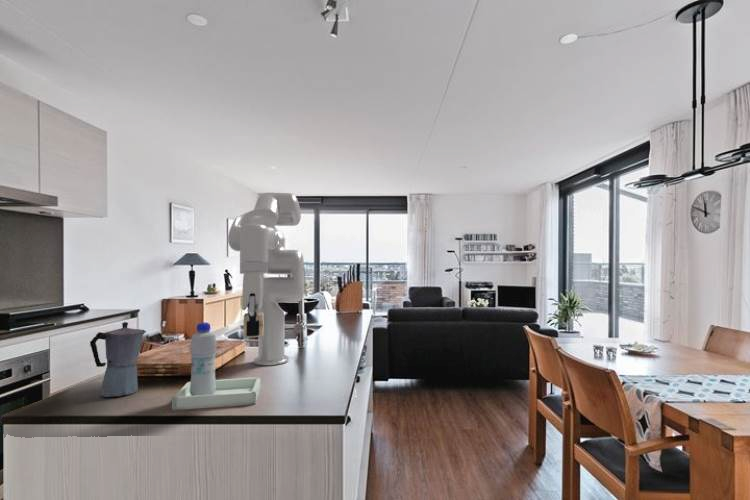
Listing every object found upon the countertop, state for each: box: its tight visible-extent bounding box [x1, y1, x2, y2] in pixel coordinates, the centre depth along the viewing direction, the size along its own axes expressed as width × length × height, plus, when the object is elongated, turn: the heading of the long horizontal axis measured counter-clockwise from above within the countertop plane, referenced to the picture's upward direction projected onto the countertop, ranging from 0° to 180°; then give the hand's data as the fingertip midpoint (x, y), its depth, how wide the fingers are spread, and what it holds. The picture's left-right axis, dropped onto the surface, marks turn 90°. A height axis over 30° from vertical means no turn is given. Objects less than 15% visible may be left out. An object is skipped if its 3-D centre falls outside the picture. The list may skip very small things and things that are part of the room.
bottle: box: [189, 322, 218, 396], centre depth 104 cm, size 7×7×20 cm
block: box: [242, 312, 264, 339], centre depth 106 cm, size 5×5×6 cm
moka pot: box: [89, 321, 147, 398], centre depth 109 cm, size 10×15×20 cm, turn 161°
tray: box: [171, 376, 262, 411], centre depth 104 cm, size 14×20×3 cm
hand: (253, 333), depth 106 cm, fingers closed on block, 5 cm apart
